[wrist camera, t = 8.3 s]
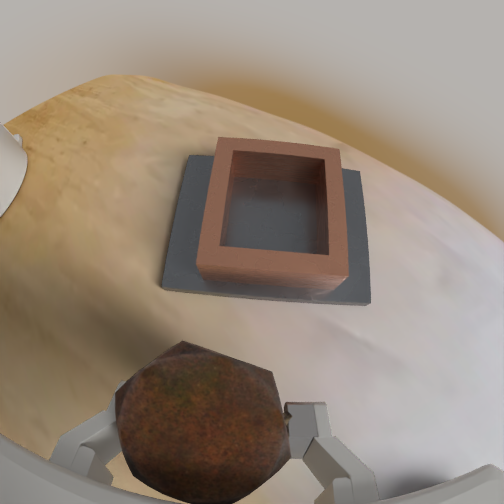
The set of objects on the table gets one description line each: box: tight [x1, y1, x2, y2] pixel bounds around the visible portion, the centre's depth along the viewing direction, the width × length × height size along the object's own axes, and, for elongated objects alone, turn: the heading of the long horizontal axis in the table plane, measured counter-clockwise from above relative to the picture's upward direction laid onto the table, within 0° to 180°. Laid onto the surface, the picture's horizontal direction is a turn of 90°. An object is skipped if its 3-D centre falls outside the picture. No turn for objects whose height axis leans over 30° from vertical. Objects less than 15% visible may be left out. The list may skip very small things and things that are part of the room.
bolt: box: [115, 341, 291, 504], centre depth 14 cm, size 6×5×15 cm
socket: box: [161, 137, 371, 306], centre depth 25 cm, size 18×14×5 cm
